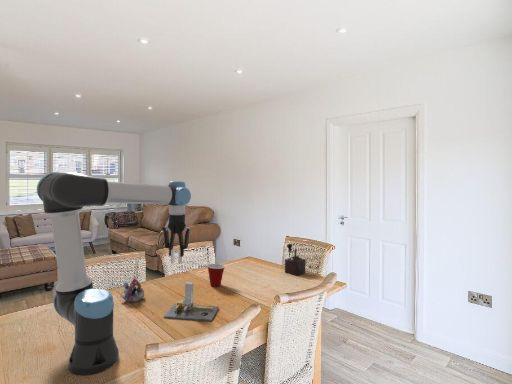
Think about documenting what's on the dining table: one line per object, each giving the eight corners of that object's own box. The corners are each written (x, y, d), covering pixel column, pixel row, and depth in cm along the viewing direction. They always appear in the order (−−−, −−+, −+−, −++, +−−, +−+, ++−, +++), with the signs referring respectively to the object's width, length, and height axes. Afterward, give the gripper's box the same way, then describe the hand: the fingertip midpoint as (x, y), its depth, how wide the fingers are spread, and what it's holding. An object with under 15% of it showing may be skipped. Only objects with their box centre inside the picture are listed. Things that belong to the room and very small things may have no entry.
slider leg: (187, 314, 143) (188, 287, 142) (181, 313, 143) (181, 287, 142) (193, 306, 151) (193, 281, 151) (187, 305, 152) (187, 281, 151)
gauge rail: (208, 316, 141) (209, 309, 141) (170, 313, 143) (170, 306, 143) (213, 308, 150) (213, 302, 150) (177, 305, 152) (177, 299, 152)
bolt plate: (211, 321, 138) (211, 319, 138) (163, 317, 141) (163, 315, 141) (218, 308, 152) (218, 306, 152) (175, 305, 155) (175, 303, 155)
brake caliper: (139, 300, 153) (126, 279, 154) (123, 311, 156) (110, 291, 157) (152, 292, 164) (139, 273, 165) (137, 302, 167) (125, 283, 168)
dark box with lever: (306, 272, 212) (307, 246, 211) (296, 276, 204) (297, 249, 204) (288, 267, 223) (289, 242, 222) (278, 270, 215) (279, 245, 214)
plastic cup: (228, 284, 185) (229, 264, 184) (215, 289, 176) (216, 269, 176) (215, 280, 192) (216, 261, 191) (202, 285, 183) (202, 265, 182)
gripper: (195, 213, 150) (195, 261, 152) (163, 212, 152) (163, 259, 153) (191, 215, 143) (190, 266, 144) (157, 214, 145) (156, 264, 146)
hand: (176, 262), depth 149 cm, fingers open, 3 cm apart
